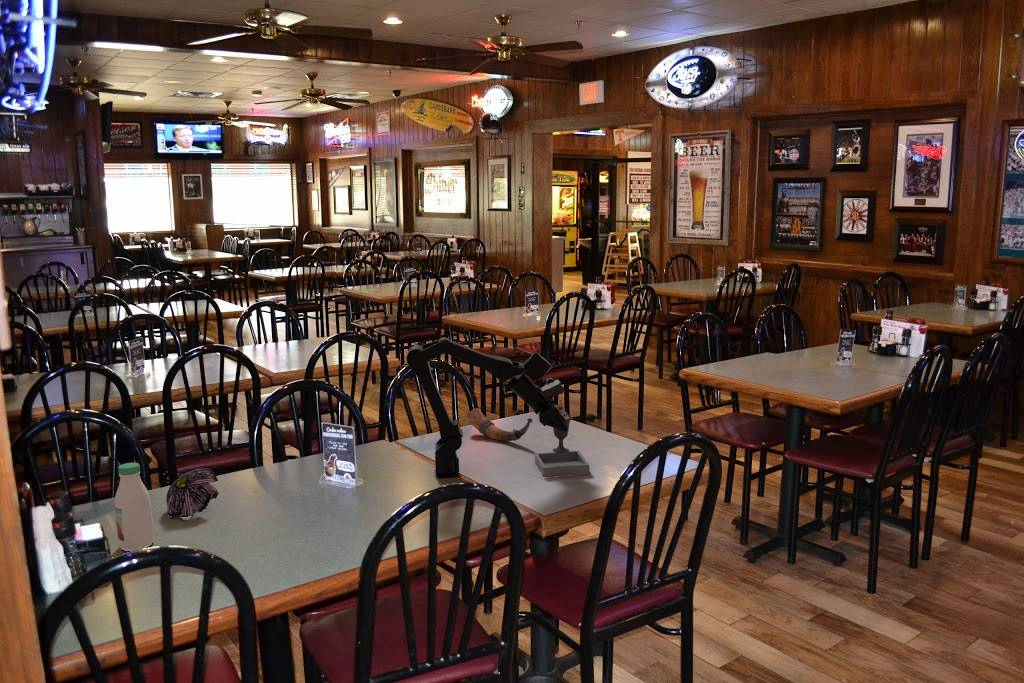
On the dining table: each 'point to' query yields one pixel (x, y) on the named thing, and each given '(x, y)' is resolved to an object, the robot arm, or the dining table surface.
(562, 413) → the sundae
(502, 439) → the drinking horn
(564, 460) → the tray
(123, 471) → the milk bottle
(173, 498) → the decorative flower
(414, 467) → the dining table surface
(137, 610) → the dining table surface
